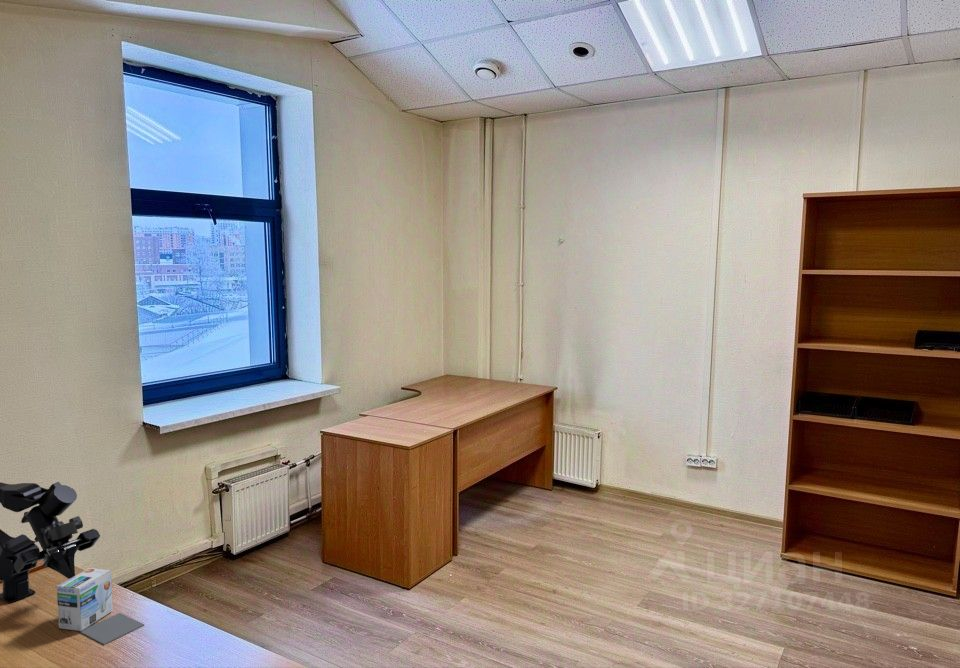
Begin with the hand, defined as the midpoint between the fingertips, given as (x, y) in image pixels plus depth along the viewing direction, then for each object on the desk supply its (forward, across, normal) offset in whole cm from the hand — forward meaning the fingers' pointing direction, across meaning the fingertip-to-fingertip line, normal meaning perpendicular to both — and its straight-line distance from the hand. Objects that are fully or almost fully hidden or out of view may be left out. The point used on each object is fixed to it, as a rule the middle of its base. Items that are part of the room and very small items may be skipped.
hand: (72, 578), depth 167 cm
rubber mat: (+17, +1, -4) cm, 17 cm away
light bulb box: (+10, 0, +3) cm, 11 cm away
